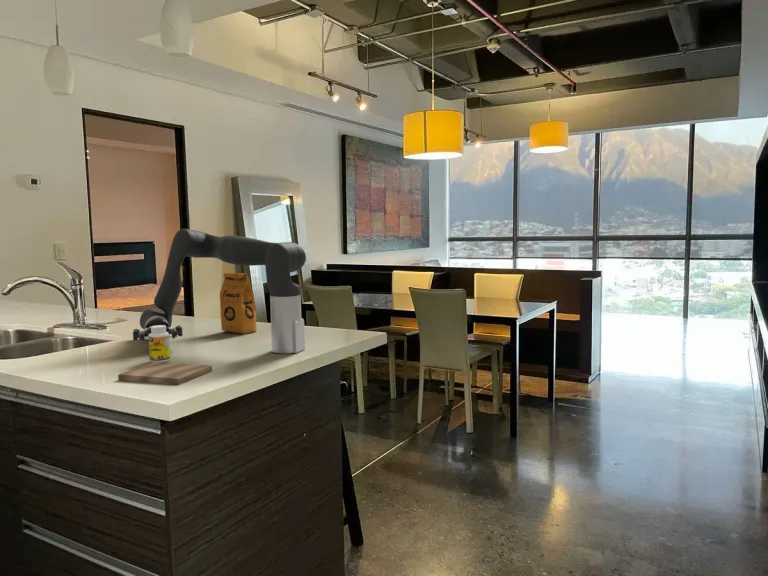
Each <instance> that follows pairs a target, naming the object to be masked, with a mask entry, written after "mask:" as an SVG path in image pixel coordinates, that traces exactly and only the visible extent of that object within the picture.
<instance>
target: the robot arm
mask: <svg viewBox="0 0 768 576" xmlns="http://www.w3.org/2000/svg"><path fill="white" fill-rule="evenodd" d="M186 257H188V258H189V257H190V258H195V259H196V258H199V259H200V258H204V259H205V258H208V259H209V258H211V259H213V258H214V259H218V260H220V261H222V262H224V263H227V264H232V265H236V266H237V265H238V266H246V267H247V266H251V267H253V266H254V267H255V266H264V267H265V275H266V277H265V278H266V285H267V288H268V290H269V302H270V306H269V307H270V331H271V351H272V353H275V354H297V353H300V352H301V351H304V350H306V342H305V341H306V340H305V339H306V338H305V336H306V335H305V334H306V333H305V320H304V318H302V302H301V301H302V297H301V295H302V294H301V286H300V285H299V284H297V283H295V282H293V280H292V278H291V273H294V272H296V271H299V270H300V269H302V268H303V267H304V265H305V264H306V260H307V255H306V252H305V250H304V249H303V247H302V246H301V245H299V244H298V243H296V242H291V241H289V242H270V241H265V240H262V239H257V238H252V237H247V236H241V235H234V234H233V235H223V236H217V235H213V234H210V233H207V232H203V231H199V230H195V229H190V228H181V229H179V230H177V232H175V234H174V236H173V239H172V242H171V246H170V250H169V254H168V256H167V262H166V266H165V269H164V270H165V271H164V274H163V277H162V281H161V283H160V286H159V288H158V290H157V292H156V294H155V297H154V299H153V304H154V306H155V307H157V308H158V309H159V310H161V311H162V312H163V313H162V312H159V311H156V310H155V309H151V308H149V309H146V310H145V311H143V312H142V313H141V314H140V318H139V326H140V328H142V330H140V329H138V328H134V329H133V331H132V339H133V341H137V340H138V339H139V340H140V341H141V342H145V341H146V340H147V341H149V337H148V335H149V334H150V333H152V332H151V327H152V326H157V325H165V326H166V331H165V332H168V333H169V339H170V338H172V340H173V339H176V338H177V337H183V335H184V334H183V326H181V325H177V326H175V328H174V327H172V325H173V314H174V309H175V305H176V303H177V302H178V299H179V297H180V295H181V291H182V286H183V285H182V284H183V283H182V277H181V267H182V264H183V262H184V260H185V258H186Z"/></svg>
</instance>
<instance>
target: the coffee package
mask: <svg viewBox="0 0 768 576" xmlns="http://www.w3.org/2000/svg"><path fill="white" fill-rule="evenodd" d="M223 277H224V279H223V283H222V285H221V289H220V291H219V302H220V303H219V305H220V306H219V309H220V321H221V322H220V323H221V331H223V332H227V333H229V332H230V333H235V334H243V335H245V334H251V333H256V332H257V309H256V302H255V296H254V295H255V294H254V291H253V287H252V285H251V281H250V279H249V277H248V273H246V272H241V273H239V272H238V273H236V272H224V273H223ZM255 331H256V332H255Z"/></svg>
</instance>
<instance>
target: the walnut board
mask: <svg viewBox="0 0 768 576" xmlns="http://www.w3.org/2000/svg"><path fill="white" fill-rule="evenodd" d="M211 372H213V365H208V364H196V363H195V364H194V363H193V364H192V363H176V362H175V363H174V362H162V363H161V362H154V363H153V362H151V363H149V364H146V365H142V366H140V367H136V368H133V369H130V370H128V371H125V372H124V371H123V372H122V373H119V374H117V379H118V381H122V382H133V383H134V382H135V383H137V382H138V383H150V384H151V383H152V384H165V385H167V384H168V385H177V386H180V385H183V384H184V383H187V382H189V381H191V380H195V379H196V378H200V377H202V376H204V375H206V374H209V373H211Z"/></svg>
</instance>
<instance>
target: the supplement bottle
mask: <svg viewBox="0 0 768 576" xmlns="http://www.w3.org/2000/svg"><path fill="white" fill-rule="evenodd" d="M165 331H166V326H165V325H157V326H152V327H151V332H152V333H150V334H149V335H148V337H149V340H148V350H149V351H148V353H149V361H150V362H151V363H154V362H161V363H168V362H169V361H170V360H171V347H170V346H171V345H170V338H169V333H168V332H165Z"/></svg>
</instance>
